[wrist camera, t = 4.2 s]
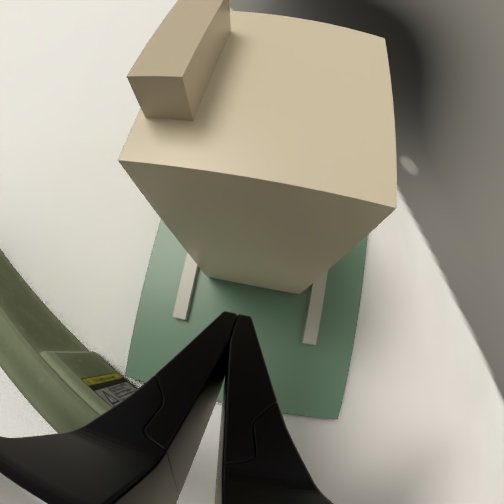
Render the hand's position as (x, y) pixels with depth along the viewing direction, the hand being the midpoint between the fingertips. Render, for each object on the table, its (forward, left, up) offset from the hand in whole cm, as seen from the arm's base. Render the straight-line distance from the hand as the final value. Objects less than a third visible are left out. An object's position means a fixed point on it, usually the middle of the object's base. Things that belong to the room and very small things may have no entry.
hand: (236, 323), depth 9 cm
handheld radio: (-16, +2, -9) cm, 18 cm away
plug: (+1, +5, -7) cm, 8 cm away
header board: (+2, +6, -8) cm, 10 cm away
